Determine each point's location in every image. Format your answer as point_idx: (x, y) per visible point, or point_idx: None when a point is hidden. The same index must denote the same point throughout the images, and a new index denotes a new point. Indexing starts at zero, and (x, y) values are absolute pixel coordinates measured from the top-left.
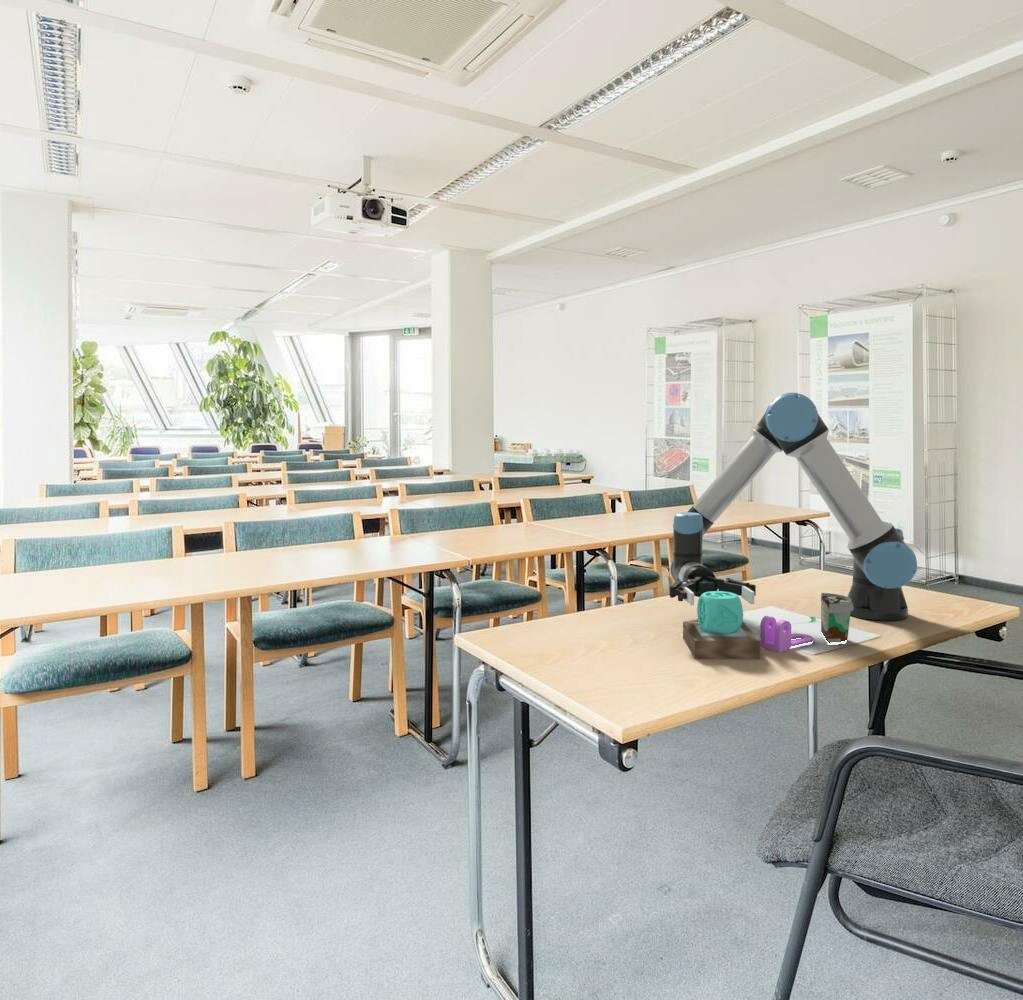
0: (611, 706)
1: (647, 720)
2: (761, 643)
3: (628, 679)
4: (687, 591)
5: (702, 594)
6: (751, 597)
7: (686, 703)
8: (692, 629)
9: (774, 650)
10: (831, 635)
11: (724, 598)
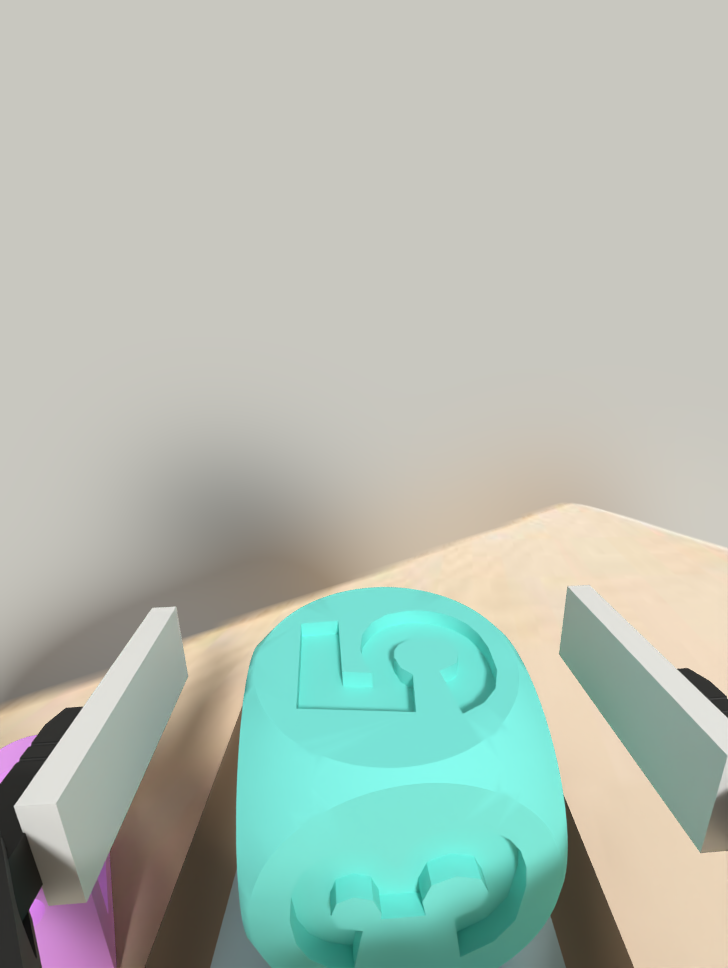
0: (620, 531)
1: (547, 512)
2: (112, 954)
3: (657, 604)
4: (646, 647)
5: (519, 667)
6: (179, 638)
7: (500, 539)
8: (568, 884)
9: (109, 868)
10: None
11: (376, 589)
